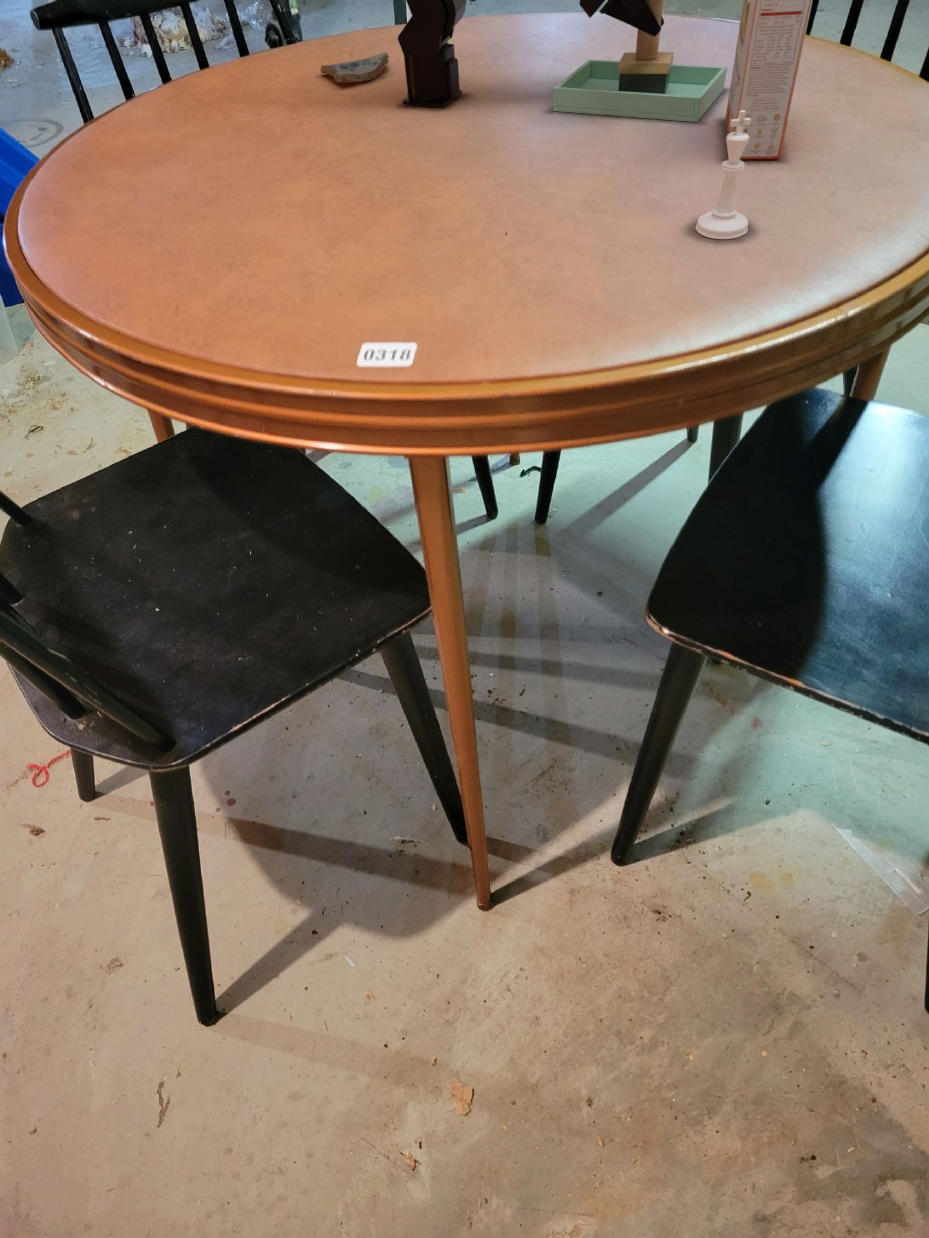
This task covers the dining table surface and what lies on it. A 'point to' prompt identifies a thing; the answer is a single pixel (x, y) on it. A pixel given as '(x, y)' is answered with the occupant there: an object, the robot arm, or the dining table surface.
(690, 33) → the dining table surface
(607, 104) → the tray
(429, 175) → the dining table surface
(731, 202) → the chess piece
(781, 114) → the cracker box
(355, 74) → the ceramic fragment
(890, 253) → the dining table surface
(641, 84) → the scrub brush
